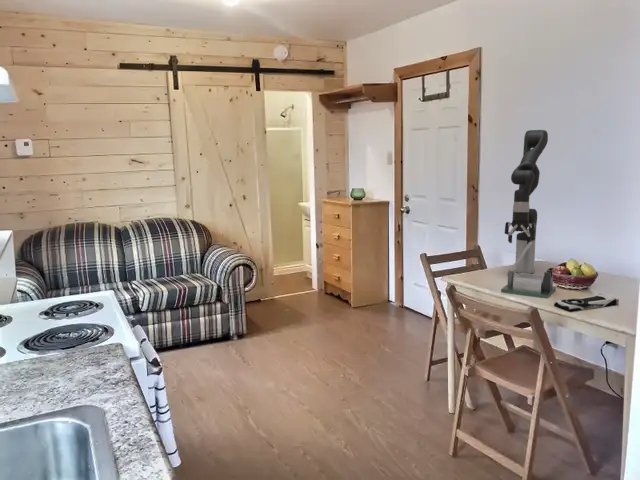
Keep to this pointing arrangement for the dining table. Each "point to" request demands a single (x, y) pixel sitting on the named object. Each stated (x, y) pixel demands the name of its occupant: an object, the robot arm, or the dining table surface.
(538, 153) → the robot arm
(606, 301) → the graphics card
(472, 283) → the dining table surface
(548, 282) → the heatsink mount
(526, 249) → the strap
